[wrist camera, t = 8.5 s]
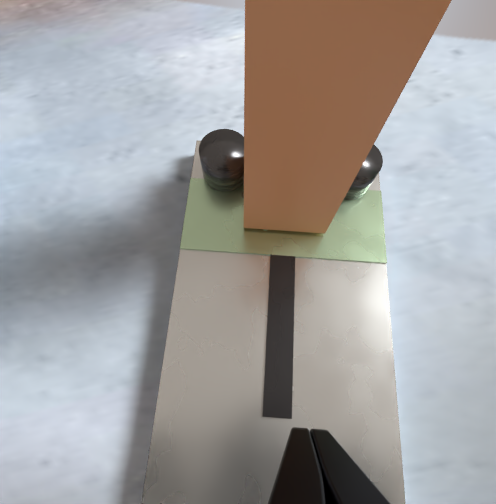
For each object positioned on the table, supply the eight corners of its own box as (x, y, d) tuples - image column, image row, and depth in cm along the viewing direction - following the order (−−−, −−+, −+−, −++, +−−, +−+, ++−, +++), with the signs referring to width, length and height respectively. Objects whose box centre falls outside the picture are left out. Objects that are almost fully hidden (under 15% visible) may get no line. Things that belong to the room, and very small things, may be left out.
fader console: (396, 548, 14) (439, 593, 11) (144, 527, 14) (116, 567, 11) (369, 165, 20) (391, 127, 17) (199, 154, 20) (191, 114, 17)
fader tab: (331, 239, 17) (626, -247, 4) (236, 233, 17) (220, -267, 4) (330, 176, 18) (547, -343, 5) (242, 170, 18) (242, -359, 5)
